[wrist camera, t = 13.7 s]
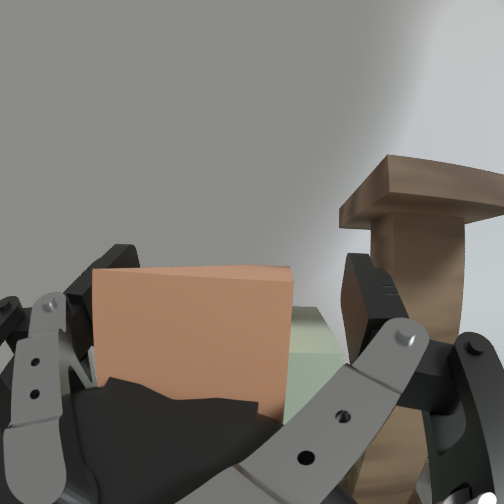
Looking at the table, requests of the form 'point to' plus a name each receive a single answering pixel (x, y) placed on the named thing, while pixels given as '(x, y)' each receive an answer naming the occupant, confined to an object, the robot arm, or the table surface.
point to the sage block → (309, 358)
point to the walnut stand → (416, 287)
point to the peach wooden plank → (196, 331)
